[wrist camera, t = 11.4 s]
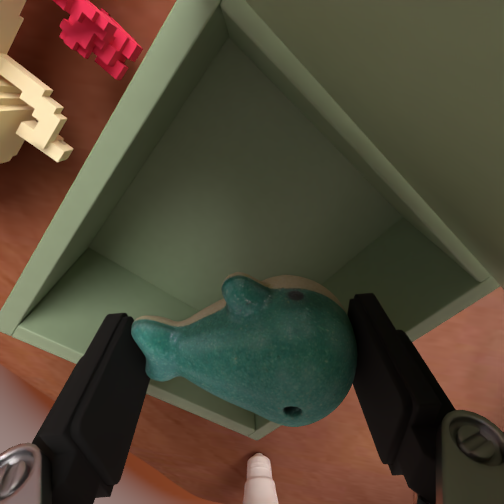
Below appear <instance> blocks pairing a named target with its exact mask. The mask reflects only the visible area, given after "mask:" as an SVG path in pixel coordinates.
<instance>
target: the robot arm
mask: <svg viewBox="0 0 504 504" xmlns="http://www.w3.org/2000/svg"><path fill="white" fill-rule="evenodd" d="M347 315H348V318H349V320H350V322H351V325H352V327H353V331H354V334H355V338H356V344H357V367H356V373H355V377H354V380H353V386H354V389H355V391H356V394H357V397H358V400H359V402H360V405H361V408H362V410H363V413H364V416H365V419H366V421H367V424H368V427H369V430H370V432H371V435H372V438H373V441H374V443H375V446H376V449H377V451H378V454H379V457H380V459H381V461H382V463H383V464H388V465H389V468H390V470H391V473H392V475H404V477H405V480H406V482H407V485H408V487H409V488H410V489H412V490H413V491H414V495H413V504H504V433H503V432H502V431H501V430H500V429H499V428H498V427H497V426H496V425H495V424H493V423H492V422H491V421H489V420H488V419H486V418H485V417H483V416H480V415H478V414H476V413H474V412H470V411H465V410H455V408H454V407H453V405H452V404H451V402H450V400H449V399H448V397H447V396H446V394H445V393H444V391H443V390H442V388H441V387H440V385H439V383H438V382H437V380H436V379H435V377H434V376H433V374H432V373H431V371H430V369H429V368H428V366H427V365H426V363H425V362H424V360H423V359H422V357H421V356H420V354H419V352H418V351H417V349H416V348H415V346H414V345H413V343H412V342H411V340H410V339H409V337H408V335H407V334H406V333H405V332H404V331H403V330H396V329H395V327H394V325H393V324H392V322H391V321H390V319H389V317H388V316H387V314H386V312H385V311H384V309H383V308H382V306H381V304H380V303H379V301H378V299H377V298H376V296H375V295H374V294H373V293H364V294H355V296H354V299H350V300H349V307H348V314H347ZM133 322H134V319H133V317H131V316H128V315H127V314H126V313H113V314H108V315H107V316H106V317H105V318H104V320H103V322H102V324H101V326H100V327H99V329H98V331H97V333H96V334H95V336H94V338H93V340H92V342H91V343H90V345H89V347H88V349H87V351H86V352H85V354H84V356H82V357H81V358H80V360H79V361H78V363H77V364H76V366H75V368H74V370H73V371H72V373H71V375H70V377H69V379H68V380H67V382H66V384H65V386H64V387H63V389H62V391H61V393H60V394H59V396H58V398H57V400H56V401H55V403H54V405H53V407H52V409H51V410H50V412H49V414H48V416H47V417H46V419H45V421H44V423H43V424H42V426H41V428H40V430H39V431H38V433H37V435H36V437H35V438H34V440H33V442H32V444H31V443H25V444H19V445H17V446H14V447H11V448H9V449H7V450H6V451H4V452H3V453H1V454H0V504H93V503H94V500H95V498H99V497H110V496H111V492H112V489H113V486H114V485H115V484H117V483H118V482H119V481H120V479H121V475H122V473H123V469H124V466H125V462H126V459H127V455H128V452H129V449H130V446H131V442H132V439H133V436H134V432H135V429H136V425H137V422H138V419H139V415H140V412H141V409H142V405H143V402H144V398H145V395H146V392H147V388H148V385H149V382H150V378H149V377H148V375H147V374H146V371H145V367H146V357H145V355H144V354H143V352H142V351H141V349H140V348H139V346H138V345H137V343H136V342H135V340H134V339H133V337H132V335H131V328H132V323H133Z"/></svg>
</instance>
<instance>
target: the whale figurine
mask: <svg viewBox="0 0 504 504" xmlns="http://www.w3.org/2000/svg"><path fill="white" fill-rule="evenodd" d="M221 290H222V295H223V297H224V298H223V299H221V300H219V301H217V302H215V303H213V304H211V305H210V306H208V307H206V308H204V309H203V310H201V311H199V312H198V313H196V314H194V315H193V316H191V317H190V318H188V319H186V320H183V321H173V320H170V319H167V318H164V317H160V316H141V317H139V318H137V319H136V320H135V321H134V322H133V323H132V328H131V335H132V337H133V339H134V340H135V342H136V343H137V345H138V346H139V348H140V349H141V351H142V352H143V354H144V355H145V357H146V367H145V371H146V374H147V375H148V377H149V378H151V379H152V380H155V381H161V382H163V381H168V380H171V379H173V378H175V377H178V376H181V377H184V378H186V379H187V380H189V381H190V382H192V383H194V384H195V385H197V386H199V387H200V388H202V389H204V390H206V391H207V392H209V393H211V394H213V395H215V396H217V397H219V398H221V399H223V400H225V401H227V402H229V403H232V404H234V405H236V406H239V407H241V408H243V409H246V410H248V411H250V412H253V413H255V414H257V415H259V416H261V417H263V418H265V419H267V420H269V421H272V422H274V423H277V424H280V425H284V426H290V427H299V426H304V425H308V424H312V423H314V422H317V421H319V420H320V419H322V418H324V417H326V416H327V415H329V414H330V413H331V412H332V411H334V410H335V409H336V408H337V407H338V406H339V405H340V403H341V402H342V401H343V399H344V398H345V397H346V395H347V393H348V392H349V390H350V388H351V386H352V383H353V380H354V377H355V373H356V367H357V344H356V338H355V334H354V331H353V327H352V325H351V322H350V320H349V318H348V315H347V313H346V311H345V309H344V307H343V306H342V304H341V303H340V301H339V300H338V299H337V298H336V297H335V296H334V295H333V294H332V293H331V292H330V291H329V290H328V289H326V288H325V287H324V286H322V285H320V284H319V283H317V282H315V281H312V280H310V279H307V278H303V277H299V276H294V275H280V276H275V277H271V278H268V279H265V280H263V281H259V280H257V279H255V278H253V277H252V276H250V275H248V274H245V273H242V272H236V273H233V274H230V275H228V276H227V277H226V279H225V280H224V282H223V284H222V287H221Z"/></svg>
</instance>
